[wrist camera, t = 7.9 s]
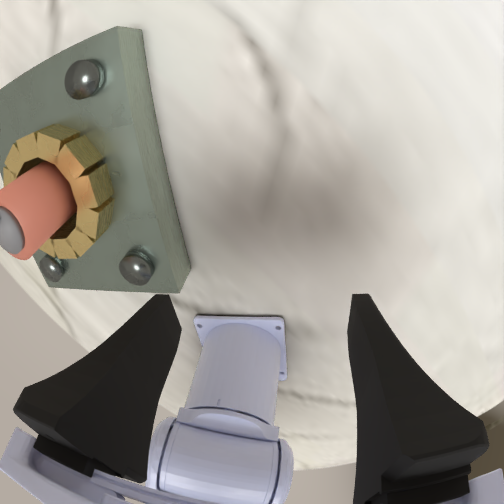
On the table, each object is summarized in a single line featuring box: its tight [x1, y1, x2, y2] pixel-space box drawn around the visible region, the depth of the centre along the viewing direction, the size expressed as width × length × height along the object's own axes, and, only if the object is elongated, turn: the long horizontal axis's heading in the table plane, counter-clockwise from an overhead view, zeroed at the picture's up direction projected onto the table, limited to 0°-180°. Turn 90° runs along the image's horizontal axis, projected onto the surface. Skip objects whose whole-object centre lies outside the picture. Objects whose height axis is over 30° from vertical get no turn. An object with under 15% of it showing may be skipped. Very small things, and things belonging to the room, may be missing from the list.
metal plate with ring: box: [0, 26, 191, 293], centre depth 18 cm, size 18×14×5 cm
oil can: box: [0, 160, 77, 260], centre depth 15 cm, size 4×4×8 cm
